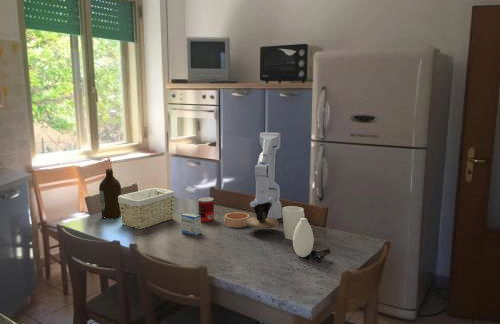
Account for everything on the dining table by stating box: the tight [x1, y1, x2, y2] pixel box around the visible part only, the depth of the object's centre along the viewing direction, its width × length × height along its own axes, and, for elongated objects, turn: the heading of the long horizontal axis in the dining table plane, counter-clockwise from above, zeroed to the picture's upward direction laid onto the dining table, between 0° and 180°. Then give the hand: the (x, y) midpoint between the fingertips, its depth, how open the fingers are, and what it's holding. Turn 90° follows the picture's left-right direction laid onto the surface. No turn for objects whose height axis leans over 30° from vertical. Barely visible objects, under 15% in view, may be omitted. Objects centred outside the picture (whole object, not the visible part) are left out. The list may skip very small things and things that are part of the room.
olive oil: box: [98, 168, 122, 219], centre depth 217 cm, size 11×11×25 cm
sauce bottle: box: [292, 212, 315, 258], centre depth 164 cm, size 8×8×18 cm
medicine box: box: [180, 212, 202, 236], centre depth 193 cm, size 8×4×9 cm, turn 62°
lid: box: [246, 212, 279, 229], centre depth 194 cm, size 15×15×5 cm
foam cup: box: [281, 205, 305, 241], centre depth 187 cm, size 10×9×13 cm
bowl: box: [224, 211, 251, 229], centre depth 207 cm, size 12×12×4 cm
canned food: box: [197, 196, 215, 223], centre depth 212 cm, size 8×8×11 cm
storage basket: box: [118, 187, 175, 230], centre depth 209 cm, size 24×16×15 cm
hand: (262, 219), depth 194 cm, fingers closed on lid, 3 cm apart
